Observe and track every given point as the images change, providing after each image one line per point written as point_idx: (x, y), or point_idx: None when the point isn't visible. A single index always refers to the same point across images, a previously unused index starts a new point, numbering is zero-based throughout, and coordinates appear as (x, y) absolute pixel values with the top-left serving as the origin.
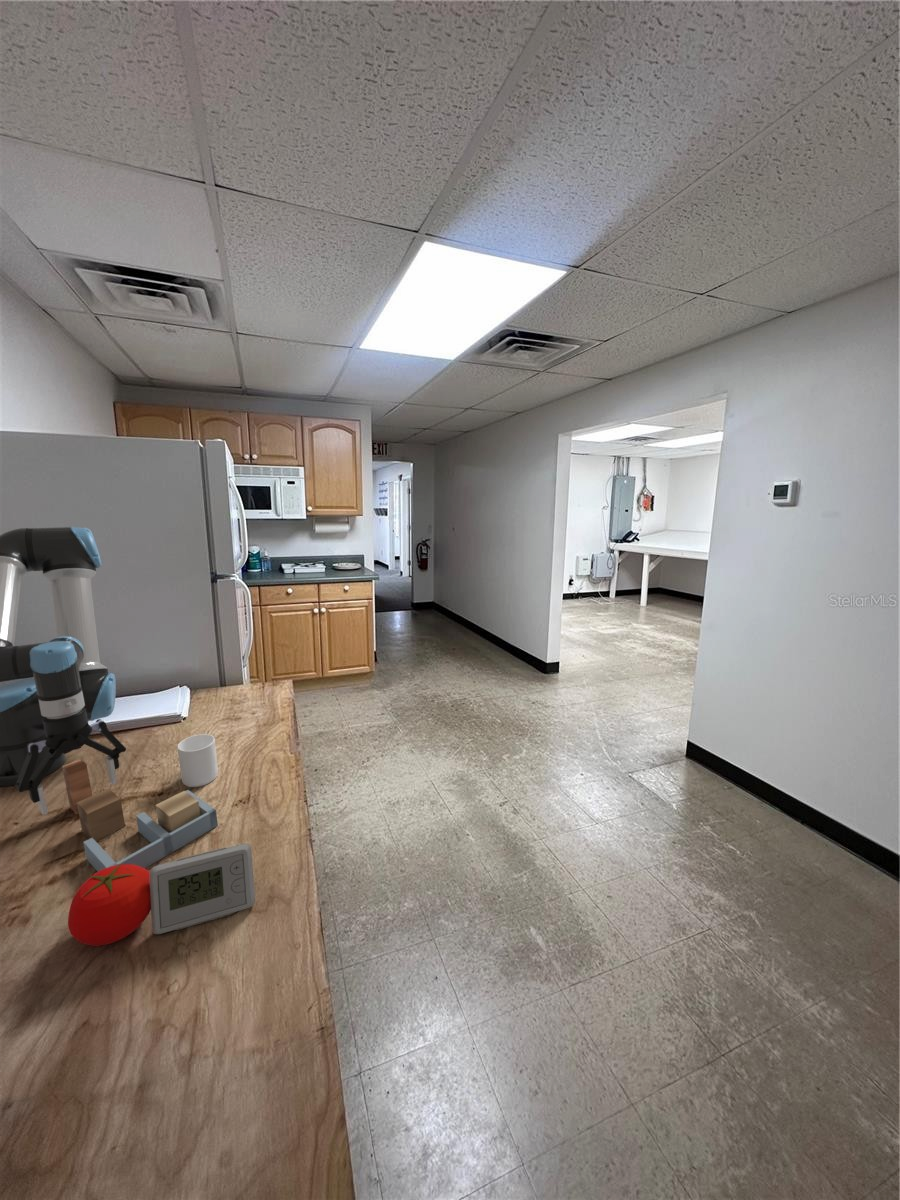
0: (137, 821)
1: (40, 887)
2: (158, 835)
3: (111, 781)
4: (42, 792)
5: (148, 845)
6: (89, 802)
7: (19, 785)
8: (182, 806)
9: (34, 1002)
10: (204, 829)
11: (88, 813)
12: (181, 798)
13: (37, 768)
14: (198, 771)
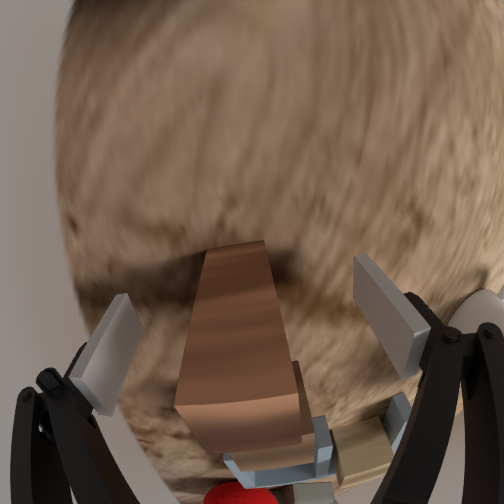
0: (316, 439)
1: (163, 435)
2: (316, 475)
3: (356, 283)
4: (115, 398)
5: (297, 481)
6: (252, 454)
7: (42, 435)
8: (364, 480)
9: (180, 488)
10: None
11: (242, 471)
12: (377, 471)
13: (62, 455)
14: None
